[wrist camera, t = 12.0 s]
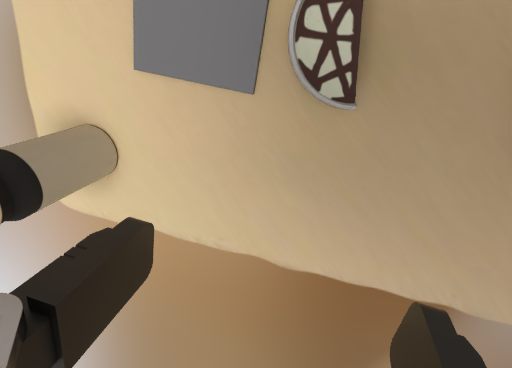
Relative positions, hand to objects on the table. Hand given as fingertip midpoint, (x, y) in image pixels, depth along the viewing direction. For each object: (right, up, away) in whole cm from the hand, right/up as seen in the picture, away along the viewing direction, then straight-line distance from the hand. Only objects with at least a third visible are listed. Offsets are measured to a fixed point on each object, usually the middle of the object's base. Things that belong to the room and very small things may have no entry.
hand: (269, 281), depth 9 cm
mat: (-7, +23, +25) cm, 35 cm away
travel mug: (-25, +8, +37) cm, 45 cm away
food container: (+7, +19, +24) cm, 31 cm away
